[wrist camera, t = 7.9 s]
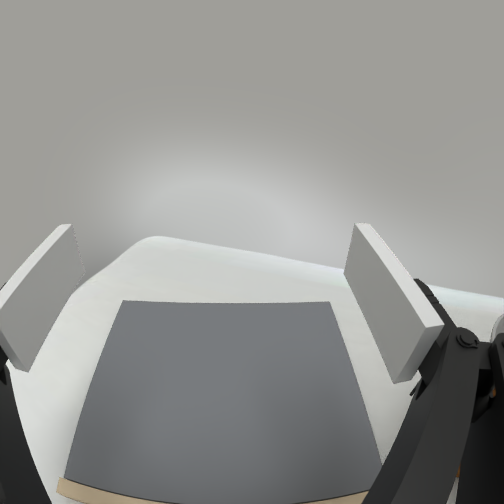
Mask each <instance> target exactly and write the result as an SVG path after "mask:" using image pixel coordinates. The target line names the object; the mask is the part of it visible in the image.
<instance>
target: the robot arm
mask: <svg viewBox="0 0 504 504" xmlns="http://www.w3.org/2000/svg"><path fill="white" fill-rule="evenodd" d="M84 274H85V269H84V267H83V263H82V260H81V256H80V252H79V249H78V245H77V241H76V237H75V234H74V230H73V226H72V224H68V225H67V224H66V225H59V226H58V227H57V228H56V229H55V230H54V231H53V232H52V233H51V234H50V235H49V236H48V237H47V239H46V240H44V241H43V242H42V244H41V245H40V246H39V247H38V248H37V249H36V250H35V251H34V252H33V253H32V254H31V255H30V256H29V258H28V259H27V260H26V261H25V262H24V263H23V264H22V265H21V267H20V268H19V269H18V270H17V271H16V272H15V274H14V275H13V276H12V277H11V278H10V279H9V281H7V282H6V283H5V284H4V285H3V287H2V288H1V289H0V504H52V503H51V501H50V498H49V496H48V494H47V492H46V490H45V488H44V485H43V483H42V481H41V478H40V476H39V474H38V471H37V469H36V466H35V464H34V461H33V458H32V455H31V453H30V450H29V447H28V444H27V441H26V438H25V435H24V431H23V428H22V425H21V421H20V417H19V414H18V410H17V406H16V402H15V397H14V393H13V388H12V383H11V378H10V372H9V369H8V367H7V366H6V362H7V360H8V359H9V360H10V362H11V363H12V364H13V366H14V367H15V369H18V370H22V371H25V372H29V370H30V368H31V366H32V364H33V362H34V360H35V358H36V356H37V354H38V352H39V350H40V348H41V346H42V345H43V343H44V341H45V339H46V337H47V335H48V333H49V332H50V330H51V328H52V326H53V324H54V323H55V321H56V319H57V317H58V316H59V314H60V312H61V311H62V309H63V307H64V306H65V304H66V302H67V301H68V299H69V297H70V296H71V294H72V292H73V290H74V289H75V288H76V286H77V284H78V283H79V281H80V280H81V278H82V277H83V275H84ZM344 275H345V277H346V279H347V281H348V283H349V285H350V288H351V290H352V292H353V294H354V296H355V298H356V300H357V302H358V304H359V306H360V308H361V311H362V313H363V315H364V317H365V319H366V321H367V324H368V326H369V328H370V330H371V332H372V335H373V337H374V339H375V341H376V344H377V346H378V348H379V351H380V353H381V355H382V358H383V360H384V362H385V365H386V367H387V370H388V372H389V374H390V377H391V379H392V382H393V384H395V383H400V382H404V381H409V380H411V379H412V378H413V376H414V375H415V373H416V372H417V370H419V372H420V374H421V376H422V378H421V379H420V381H419V382H418V383H417V385H416V386H415V388H414V389H413V390H412V392H411V393H410V396H412V395H413V394H414V396H413V398H412V401H411V404H410V406H409V409H408V411H407V414H406V416H405V419H404V421H403V424H402V426H401V428H400V431H399V433H398V435H397V437H396V439H395V442H394V444H393V446H392V448H391V450H390V452H389V454H388V456H387V458H386V460H385V462H384V464H383V466H382V468H381V470H380V472H379V474H378V476H377V477H376V479H375V481H374V483H373V485H372V486H371V488H370V490H369V491H368V493H367V495H366V497H365V498H364V500H363V501H362V503H361V504H446V503H447V500H448V497H449V495H450V492H451V490H452V487H453V484H454V481H455V478H456V475H457V472H458V469H459V466H460V474H459V483H458V491H457V497H456V504H504V333H499V334H497V336H496V337H495V339H494V340H493V342H492V343H489V342H480V341H479V339H478V338H477V336H476V335H475V334H474V333H473V332H471V331H470V330H468V329H465V328H462V327H458V328H457V327H456V325H455V324H454V323H453V321H452V320H451V318H450V317H449V315H448V314H447V312H446V311H445V309H444V308H443V307H442V305H441V304H439V301H438V300H437V298H436V297H434V294H433V293H432V291H431V290H430V289H429V287H428V286H427V285H425V284H424V283H423V282H422V281H420V280H419V279H413V278H412V277H411V276H410V274H409V273H408V272H407V270H406V269H405V268H404V266H403V265H402V264H401V262H400V261H399V260H398V259H397V257H396V256H395V255H394V253H393V252H392V251H391V250H390V248H389V247H388V246H387V245H386V244H385V242H384V241H383V240H382V238H381V237H380V236H379V235H378V234H377V232H376V231H375V230H374V229H373V227H372V226H371V225H370V224H359V223H355V224H354V229H353V234H352V239H351V243H350V248H349V253H348V257H347V262H346V266H345V270H344ZM494 388H495V390H496V395H495V396H494V397H493V390H494ZM414 392H415V393H414ZM460 462H461V463H460Z"/></svg>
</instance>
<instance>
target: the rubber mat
mask: <svg viewBox="0 0 504 504" xmlns="http://www.w3.org/2000/svg"><path fill="white" fill-rule="evenodd" d="M381 468H382V463H381V460H380V456H379V452H378V449H377V445H376V442H375V438H374V435H373V431H372V428H371V424H370V421H369V418H368V414H367V411H366V408H365V404H364V401H363V398H362V395H361V392H360V388H359V385H358V382H357V379H356V376H355V373H354V370H353V367H352V364H351V361H350V358H349V355H348V352H347V349H346V346H345V343H344V340H343V338H342V335H341V332H340V329H339V326H338V323H337V321H336V318H335V315H334V312H333V310H332V307H331V304H330V302H301V303H176V302H147V301H125V300H123V302H122V304H121V306H120V308H119V311H118V313H117V316H116V318H115V320H114V323H113V325H112V328H111V330H110V333H109V335H108V338H107V340H106V343H105V345H104V348H103V351H102V353H101V356H100V359H99V361H98V364H97V367H96V370H95V372H94V375H93V378H92V381H91V384H90V387H89V390H88V393H87V396H86V399H85V402H84V405H83V408H82V412H81V415H80V418H79V421H78V425H77V428H76V432H75V435H74V439H73V443H72V446H71V450H70V454H69V458H68V462H67V466H66V471H65V475H64V478H66V479H67V480H66V479H63V478H60V477H59V482H58V486H57V491H56V492H57V493H59V494H61V495H63V496H65V497H68V498H70V499H73V500H76V501H79V502H82V503H85V504H167V503H169V504H302V503H305V504H361V503H362V501H363V500H364V498H365V497H366V495H367V493H368V491H369V490H370V488H371V486H372V485H373V483H374V481H375V479H376V477H377V476H378V474H379V472H380V470H381ZM69 480H70V481H69ZM72 481H73V482H72ZM75 482H76V483H75ZM78 483H79V484H78ZM81 484H82V485H81ZM84 485H85V486H84ZM87 486H89V487H87ZM91 487H92V488H91ZM94 488H95V489H94ZM98 489H99V490H98ZM102 490H103V491H102ZM105 491H107V492H105ZM366 491H367V492H366ZM109 492H111V493H109ZM362 492H363V493H362ZM113 493H115V494H113ZM357 493H359V494H357ZM117 494H119V495H117ZM353 494H355V495H353ZM122 495H123V496H122ZM349 495H350V496H349ZM126 496H128V497H126ZM344 496H346V497H344ZM131 497H133V498H131ZM339 497H341V498H339ZM136 498H138V499H136ZM334 498H336V499H334ZM141 499H143V500H141ZM328 499H330V500H328ZM147 500H149V501H147ZM323 500H325V501H323ZM153 501H155V502H153ZM316 501H319V502H316ZM160 502H162V503H160ZM310 502H312V503H310Z"/></svg>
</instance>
